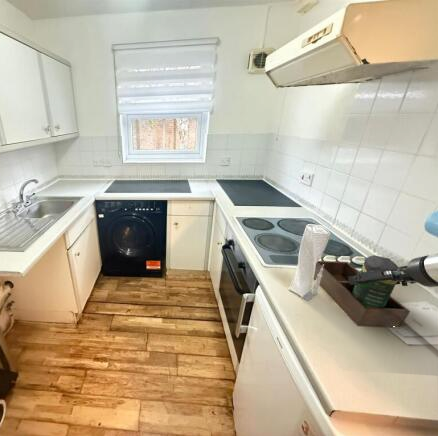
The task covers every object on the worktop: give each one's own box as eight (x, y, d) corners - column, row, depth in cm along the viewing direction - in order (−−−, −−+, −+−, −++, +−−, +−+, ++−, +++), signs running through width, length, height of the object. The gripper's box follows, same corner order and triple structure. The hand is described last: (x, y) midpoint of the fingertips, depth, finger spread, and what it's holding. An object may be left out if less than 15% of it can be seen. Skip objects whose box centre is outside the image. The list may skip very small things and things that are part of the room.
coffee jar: (382, 323, 74) (407, 273, 66) (350, 312, 78) (370, 264, 70) (376, 304, 81) (398, 257, 74) (347, 295, 85) (365, 250, 78)
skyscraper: (305, 302, 83) (329, 231, 72) (283, 289, 90) (301, 222, 79) (317, 294, 87) (341, 225, 76) (295, 282, 94) (314, 216, 83)
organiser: (341, 275, 97) (347, 261, 95) (400, 328, 73) (410, 311, 70) (310, 274, 98) (314, 260, 96) (357, 325, 74) (365, 309, 71)
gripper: (478, 256, 59) (394, 271, 80) (387, 253, 60) (328, 268, 81) (493, 287, 56) (402, 294, 77) (398, 283, 57) (334, 291, 78)
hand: (364, 281), depth 79 cm, fingers closed on coffee jar, 9 cm apart
